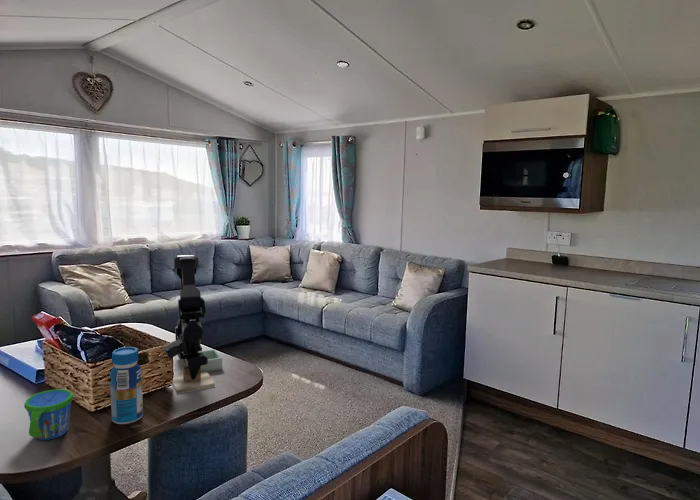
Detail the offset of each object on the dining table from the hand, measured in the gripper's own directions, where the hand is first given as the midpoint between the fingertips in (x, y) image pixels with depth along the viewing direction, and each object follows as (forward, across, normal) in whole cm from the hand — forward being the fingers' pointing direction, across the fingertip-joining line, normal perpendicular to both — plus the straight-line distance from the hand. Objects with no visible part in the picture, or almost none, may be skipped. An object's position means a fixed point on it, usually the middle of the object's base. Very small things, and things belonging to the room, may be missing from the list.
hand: (192, 377), depth 158 cm
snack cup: (+2, +15, -39) cm, 42 cm away
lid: (+2, 0, 0) cm, 2 cm away
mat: (+2, 0, 0) cm, 2 cm away
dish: (+2, -12, +7) cm, 14 cm away
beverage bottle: (+2, +15, -21) cm, 26 cm away
